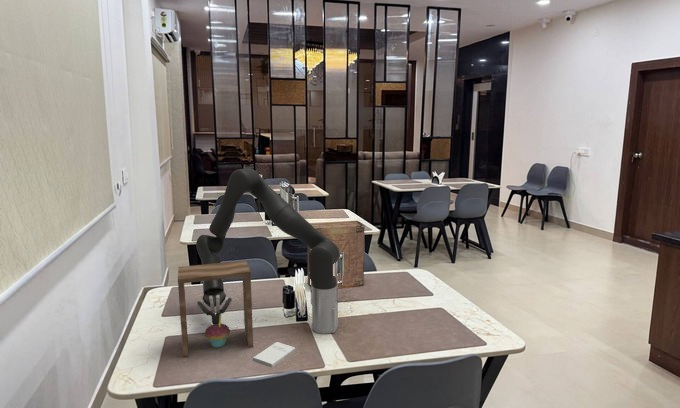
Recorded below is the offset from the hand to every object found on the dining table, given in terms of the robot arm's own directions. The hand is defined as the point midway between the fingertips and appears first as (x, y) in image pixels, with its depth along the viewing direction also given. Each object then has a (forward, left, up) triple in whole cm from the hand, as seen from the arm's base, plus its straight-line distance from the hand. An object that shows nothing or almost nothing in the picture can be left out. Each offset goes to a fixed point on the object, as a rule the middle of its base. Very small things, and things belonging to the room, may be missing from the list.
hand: (216, 324), depth 160 cm
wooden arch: (-3, +6, -4) cm, 8 cm away
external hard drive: (-25, +9, -5) cm, 27 cm away
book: (-32, -58, -5) cm, 67 cm away
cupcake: (-3, +6, -5) cm, 8 cm away
